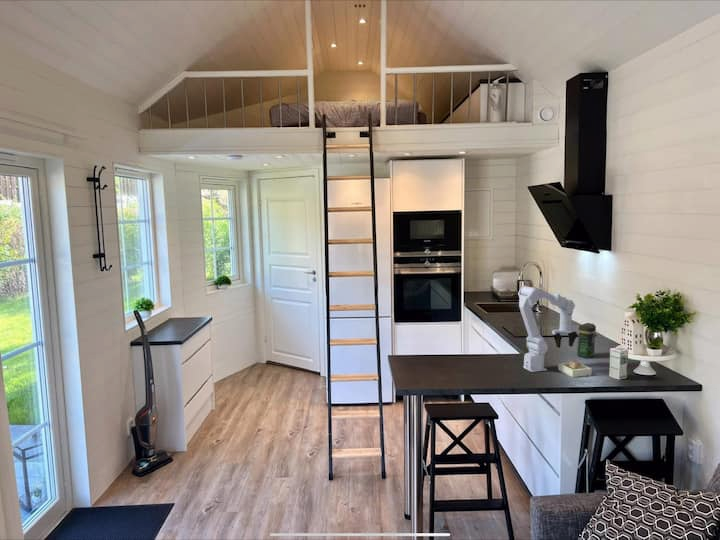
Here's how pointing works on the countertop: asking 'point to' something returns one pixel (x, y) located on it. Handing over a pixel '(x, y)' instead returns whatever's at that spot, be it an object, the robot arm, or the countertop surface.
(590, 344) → the coffee jar
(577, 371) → the white tub
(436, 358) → the countertop surface
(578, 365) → the beech block
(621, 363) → the syrup box
